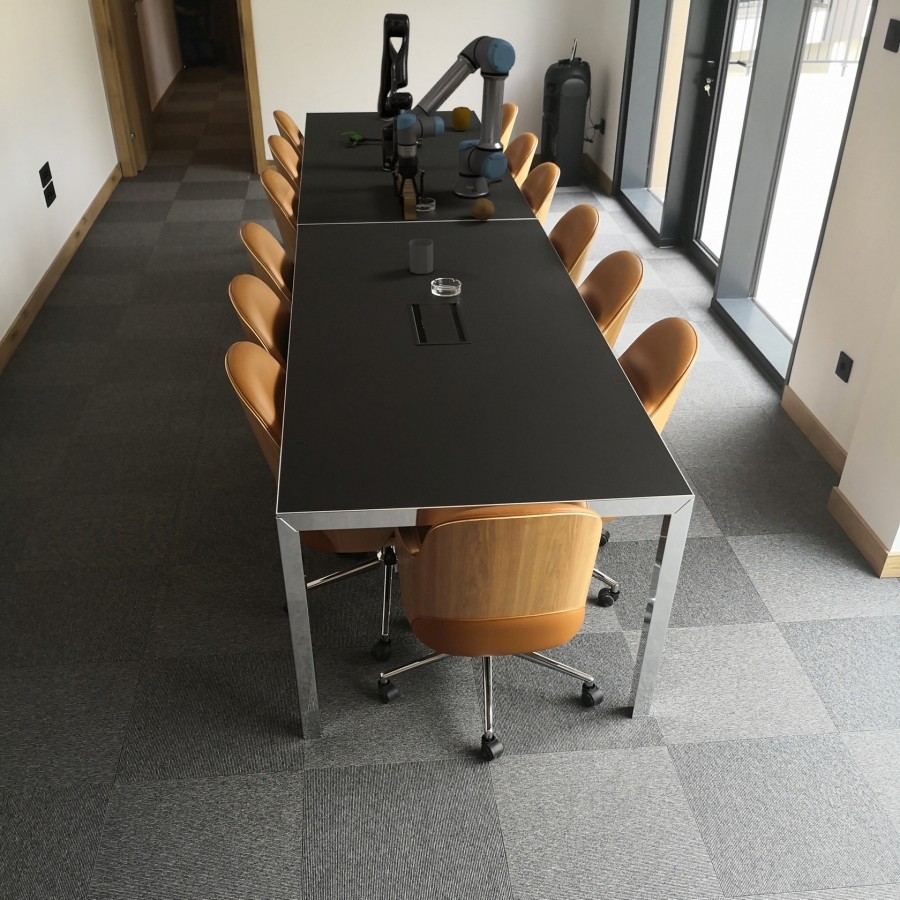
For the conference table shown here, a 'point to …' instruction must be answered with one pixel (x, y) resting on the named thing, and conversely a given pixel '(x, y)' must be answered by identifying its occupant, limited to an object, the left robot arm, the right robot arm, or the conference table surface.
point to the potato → (482, 209)
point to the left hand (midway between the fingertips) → (402, 179)
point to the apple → (461, 118)
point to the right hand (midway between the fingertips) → (409, 212)
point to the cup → (421, 256)
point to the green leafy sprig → (358, 139)
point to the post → (408, 198)
